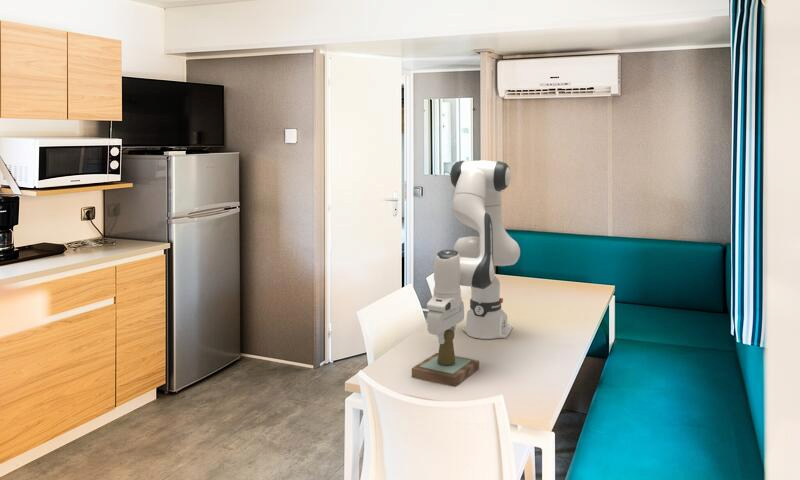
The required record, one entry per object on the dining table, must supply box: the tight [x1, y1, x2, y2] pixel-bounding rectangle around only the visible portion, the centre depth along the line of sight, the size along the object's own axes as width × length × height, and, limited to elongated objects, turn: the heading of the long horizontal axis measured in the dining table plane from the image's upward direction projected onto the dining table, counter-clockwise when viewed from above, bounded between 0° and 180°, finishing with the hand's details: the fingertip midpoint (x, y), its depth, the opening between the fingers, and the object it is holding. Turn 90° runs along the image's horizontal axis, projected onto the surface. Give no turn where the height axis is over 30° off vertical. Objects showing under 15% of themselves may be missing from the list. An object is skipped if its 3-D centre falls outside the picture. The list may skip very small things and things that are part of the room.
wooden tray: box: [411, 352, 480, 387], centre depth 217 cm, size 18×16×3 cm
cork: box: [437, 329, 456, 365], centre depth 216 cm, size 6×6×11 cm
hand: (446, 340), depth 215 cm, fingers closed on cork, 5 cm apart
